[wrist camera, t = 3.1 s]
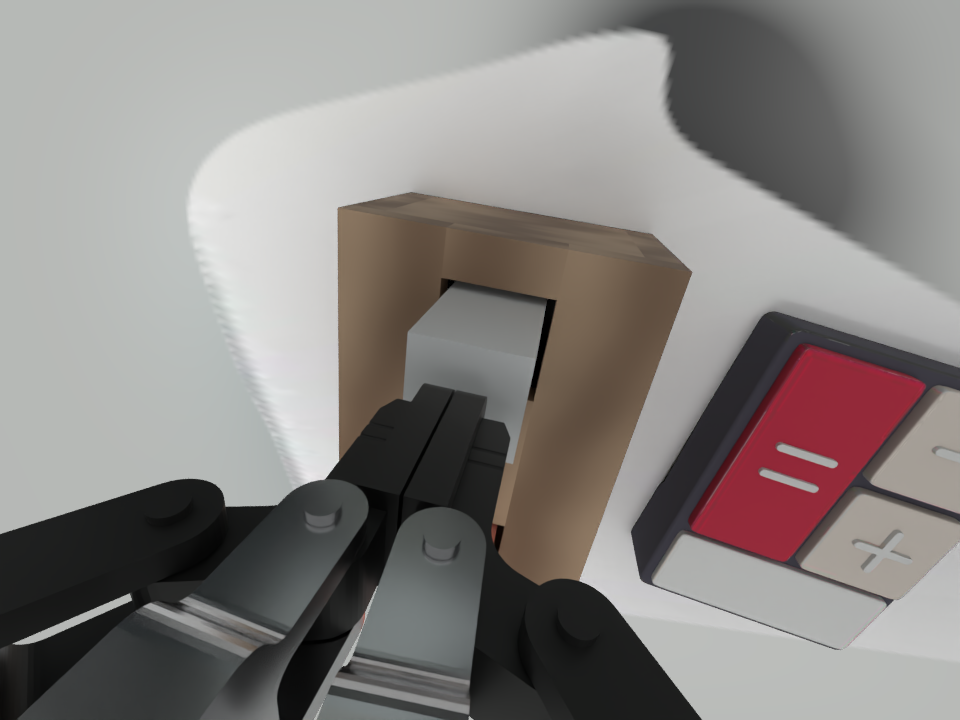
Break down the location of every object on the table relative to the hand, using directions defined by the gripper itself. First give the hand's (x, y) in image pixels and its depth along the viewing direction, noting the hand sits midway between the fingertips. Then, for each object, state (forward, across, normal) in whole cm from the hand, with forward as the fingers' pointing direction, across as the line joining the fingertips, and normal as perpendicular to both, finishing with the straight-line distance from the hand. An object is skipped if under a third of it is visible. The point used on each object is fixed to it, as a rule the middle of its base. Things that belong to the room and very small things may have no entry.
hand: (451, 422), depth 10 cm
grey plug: (+8, 0, 0) cm, 8 cm away
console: (+12, 0, +5) cm, 13 cm away
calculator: (+13, -16, +7) cm, 21 cm away
